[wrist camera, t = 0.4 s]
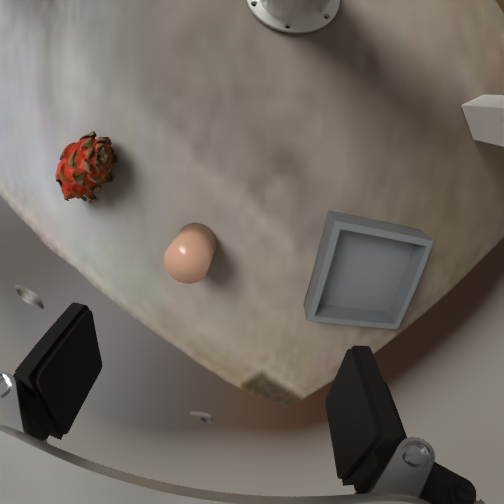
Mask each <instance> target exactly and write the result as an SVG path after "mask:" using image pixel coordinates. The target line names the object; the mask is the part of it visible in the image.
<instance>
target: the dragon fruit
mask: <svg viewBox="0 0 504 504" xmlns="http://www.w3.org/2000/svg"><path fill="white" fill-rule="evenodd" d="M95 137H96V133H95V132H94V131H93V132H91V133H89V134H87V135H85V136H83V137H81V138H80V140H79V142H77V143H72V144H69V145H68V146H67V147H66V148H65V149H64V151H63V153H62V155H61V157H60V160H61V162H60V163H59V164H58V168H57V172H56V181H57V182H59V184H60V187H61V188H62V193H63V194H64V199H65V200H67V201H69V200H68V199H71V198H75V197H76V198H78V199H79V198H82V199H83V200H84V201H86V198H85V197H84V196H83V195H84V194H85V193H86V195H87V197H88V198H89V199H91V200H90V201H89V202H90V203H93V202H96V201H97V200H98V199H97V198H96V196H95V195H94V193H93V192H100V191H101V188H102V187H101V185H100V184H101V183H105V182H111V181H113V179H114V177H115V175H114V174H113V175H112V173H111V169H112V167H113V166H114V165H115V163H116V162H117V156H116V155H115V154H114V150H113V148H112V147H111V144H112V143H111V140H110V139H109V137H100V138H98V139H95ZM70 204H71V203H70Z"/></svg>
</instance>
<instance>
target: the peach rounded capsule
mask: <svg viewBox="0 0 504 504" xmlns="http://www.w3.org/2000/svg"><path fill="white" fill-rule="evenodd" d="M216 245H217V241H216V237H215V235H214V233H213V232H212V230H211V229H210V228H208V227H207V226H205V225H203V224H199V223H192V224H188V225H186V226H184V227H183V228H182V229H181V230H180V232H179V233H178V235H177V236H176V238H175V239H174V240H173V242H172V243H171V245H170V246H169V248H168V249H167V251H166V253H165V255H164V265H165V268H166V270H167V272H168V273H169V274H170V276H171V277H173V278H174V279H175V280H177V281H179V282H182V283H196V282H198V281H200V280H202V279H203V278H204V277H205V276H206V274H207V272H208V269H209V266H210V264H211V261H212V258H213V255H214V252H215V249H216Z"/></svg>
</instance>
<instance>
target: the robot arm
mask: <svg viewBox="0 0 504 504" xmlns="http://www.w3.org/2000/svg"><path fill="white" fill-rule="evenodd" d="M246 1H247V5H248V7H249V9H250V11H251V12H252V14H253V15H254V16H255V17H256V18H257V19H258V20H259V21H261V22H262V23H263V24H265V25H267V26H268V27H270V28H272V29H275V30H278V31H281V32H286V33H295V34H300V33H309V32H313V31H316V30H318V29H320V28H323V27H324V26H325V25H327V24H328V23H329V22H330V21H331V20H332V19H333V18H334V16H335V15H336V14H337V11H338V9H339V5H340V0H246ZM253 5H256V6H253ZM324 17H326V18H327V19H325V18H324ZM286 26H288V27H289V29H287V28H286ZM101 369H102V361H101V356H100V351H99V347H98V342H97V337H96V331H95V326H94V320H93V314H92V311H90V310H89V308H88V306H86V305H83V304H79V303H72V304H71V305H70V306H69V307H68V308H67V309H66V311H65V312H64V313H63V314H62V315H61V316H60V317H59V318H58V320H57V321H56V322H55V323H54V324H53V325H52V326H51V328H50V329H49V330H48V331H47V332H46V333H45V335H44V336H43V337H42V338H41V339H40V341H39V342H38V343H37V344H36V345H35V347H34V348H33V349H32V350H31V352H30V353H29V354H28V356H27V357H26V358H25V359H24V360H23V362H22V363H21V364H20V366H19V367H18V368H17V369H16V370H15V372H16V373H15V374H14V375H13V376H12V375H11V374H9V373H8V372H4V371H0V504H485V503H484V502H483V501H482V500H481V499H480V500H479V501H477V500H476V490H475V487H474V486H473V484H472V483H471V482H470V481H469V480H467V479H465V478H463V477H461V476H459V475H458V474H456V473H454V472H452V471H450V470H448V469H446V468H445V467H443V466H441V465H439V464H437V463H436V462H434V460H435V453H434V450H433V448H432V446H431V445H430V444H429V443H428V442H427V441H425V440H424V439H421V438H418V437H410V438H407V436H406V433H405V431H404V428H403V425H402V422H401V419H400V417H399V414H398V412H397V409H396V406H395V403H394V401H393V398H392V395H391V393H390V390H389V388H388V385H387V384H386V382H384V381H383V378H382V376H381V373H380V371H379V368H378V366H377V363H376V361H375V358H374V356H373V353H372V351H371V349H370V347H369V346H353V347H352V349H348V350H347V352H346V354H345V357H344V359H343V361H342V364H341V366H340V368H339V371H338V373H337V375H336V377H335V380H334V382H333V384H332V386H331V389H330V391H329V393H328V395H327V398H326V410H327V416H328V421H329V427H330V433H331V439H332V445H333V450H334V457H335V464H336V470H337V476H338V478H339V479H342V482H343V486H345V485H354V488H355V490H356V492H355V493H354V494H351V495H336V496H313V497H312V496H311V497H280V496H257V495H244V494H233V493H224V492H215V491H209V490H202V489H196V488H189V487H184V486H179V485H174V484H169V483H165V482H160V481H156V480H152V479H147V478H144V477H140V476H136V475H133V474H129V473H125V472H122V471H119V470H116V469H113V468H110V467H106V466H104V465H101V464H98V463H95V462H92V461H89V460H86V459H84V458H81V457H79V456H76V455H74V454H71V453H69V452H66V451H64V450H61V449H59V448H57V447H54V446H52V445H50V444H48V443H47V438H48V436H49V435H51V436H53V437H55V438H57V439H60V440H61V438H62V436H63V434H67V433H68V431H69V430H70V428H71V426H72V424H73V422H74V420H75V418H76V416H77V414H78V412H79V410H80V408H81V406H82V404H83V403H84V401H85V399H86V397H87V395H88V393H89V391H90V390H91V388H92V386H93V384H94V382H95V380H96V379H97V377H98V375H99V373H100V371H101Z"/></svg>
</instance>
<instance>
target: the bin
mask: <svg viewBox="0 0 504 504" xmlns="http://www.w3.org/2000/svg"><path fill="white" fill-rule="evenodd" d="M433 242H434V241H433V240H432V239H431V238H430V237H429V236H427V235H426V234H425V233H424V232H423V231H421V230H418V229H413V228H409V227H405V226H400V225H396V224H391V223H387V222H382V221H377V220H373V219H368V218H363V217H358V216H353V215H348V214H343V213H338V212H333V211H328V214H327V218H326V223H325V227H324V231H323V235H322V239H321V243H320V247H319V250H318V254H317V258H316V262H315V266H314V269H313V273H312V277H311V280H310V284H309V288H308V291H307V295H306V298H305V302H304V309H305V314H306V320H307V321H313V322H322V323H331V324H341V325H351V326H362V327H373V328H386V329H398V327H399V325H400V323H401V321H402V319H403V316H404V314H405V312H406V310H407V308H408V305H409V303H410V301H411V299H412V296H413V294H414V292H415V289H416V287H417V284H418V282H419V280H420V277H421V275H422V272H423V270H424V267H425V264H426V262H427V259H428V256H429V254H430V251H431V248H432V245H433Z"/></svg>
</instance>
